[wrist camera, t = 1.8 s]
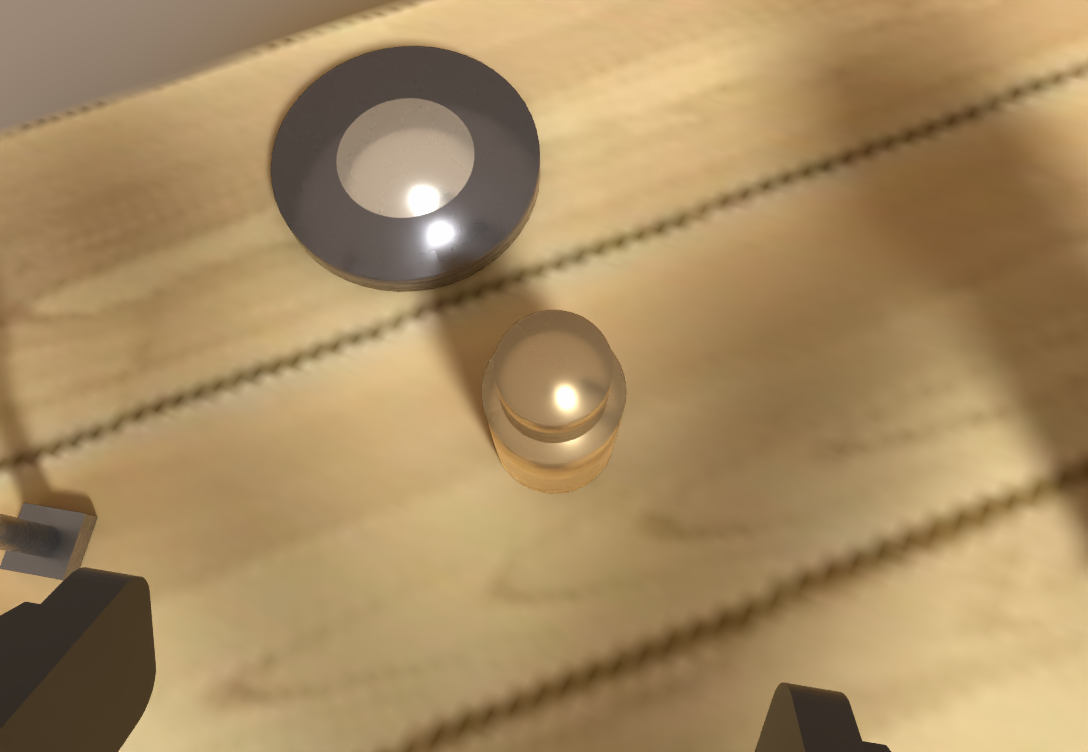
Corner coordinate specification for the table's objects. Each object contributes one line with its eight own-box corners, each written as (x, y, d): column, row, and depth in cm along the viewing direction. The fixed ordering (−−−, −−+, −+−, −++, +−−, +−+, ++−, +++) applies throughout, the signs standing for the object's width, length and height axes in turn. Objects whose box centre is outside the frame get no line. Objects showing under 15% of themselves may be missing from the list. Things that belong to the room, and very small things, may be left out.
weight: (605, 502, 39) (620, 454, 29) (483, 482, 39) (460, 428, 29) (622, 386, 40) (642, 305, 31) (506, 368, 41) (490, 282, 31)
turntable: (514, 310, 42) (513, 298, 40) (248, 270, 43) (238, 256, 41) (559, 82, 46) (559, 63, 45) (317, 49, 47) (309, 30, 46)
